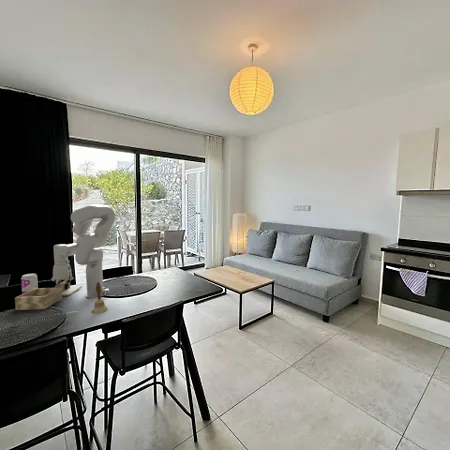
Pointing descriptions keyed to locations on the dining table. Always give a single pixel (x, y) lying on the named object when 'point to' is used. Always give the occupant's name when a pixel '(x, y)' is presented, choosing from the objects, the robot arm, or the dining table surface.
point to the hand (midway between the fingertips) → (63, 289)
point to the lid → (70, 289)
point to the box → (38, 298)
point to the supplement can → (29, 282)
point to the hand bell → (99, 302)
